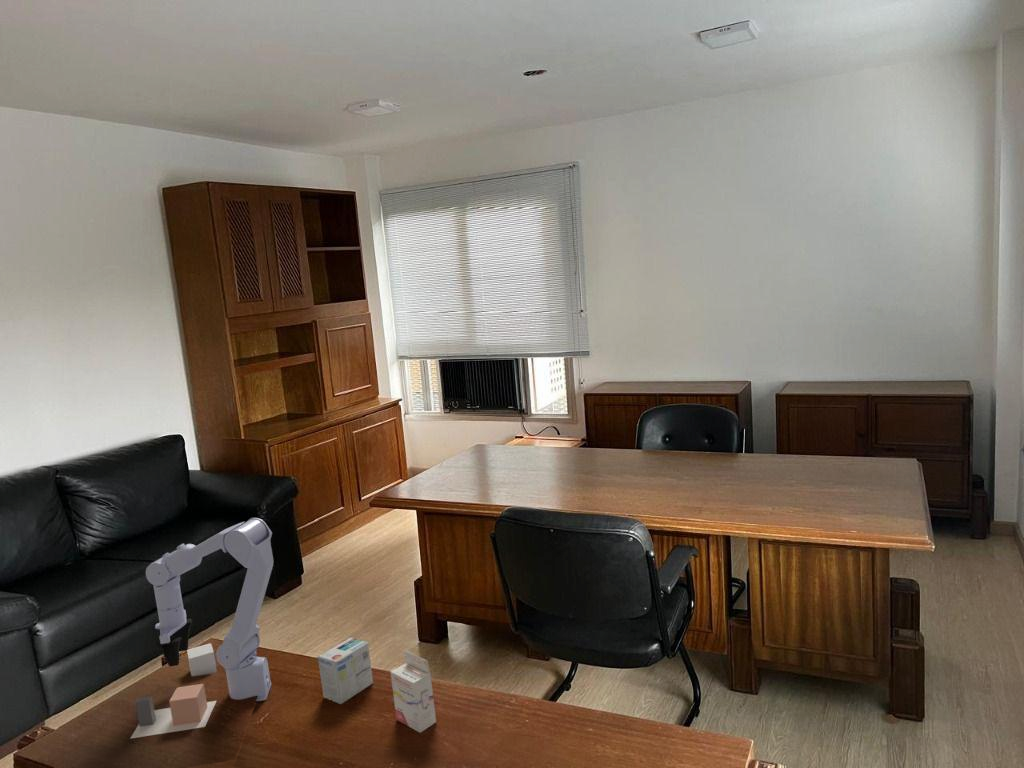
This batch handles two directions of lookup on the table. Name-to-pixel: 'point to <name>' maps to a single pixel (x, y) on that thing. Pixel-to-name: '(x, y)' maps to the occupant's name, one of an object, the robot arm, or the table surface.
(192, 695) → the block
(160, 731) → the white flat board
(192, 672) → the white block
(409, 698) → the ink cartridge box
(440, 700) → the table surface
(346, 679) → the light bulb box
